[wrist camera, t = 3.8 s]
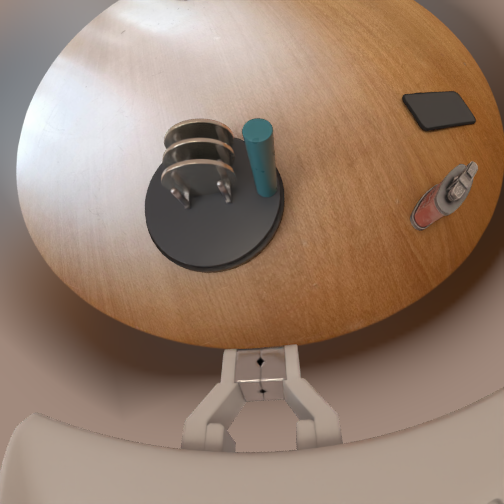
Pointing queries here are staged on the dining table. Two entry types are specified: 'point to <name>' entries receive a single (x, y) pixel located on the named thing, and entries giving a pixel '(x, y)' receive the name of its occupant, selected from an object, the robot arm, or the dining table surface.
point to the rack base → (247, 257)
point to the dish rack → (213, 192)
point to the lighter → (444, 196)
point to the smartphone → (438, 110)
